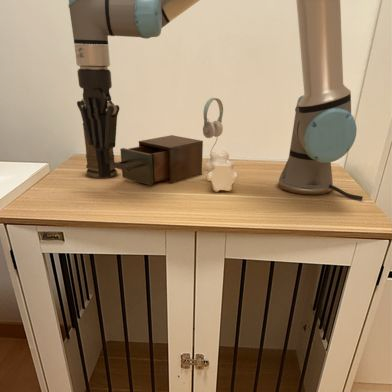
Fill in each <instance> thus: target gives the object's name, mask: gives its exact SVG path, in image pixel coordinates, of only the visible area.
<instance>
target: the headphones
mask: <svg viewBox="0 0 392 392" xmlns="http://www.w3.org/2000/svg"><path fill="white" fill-rule="evenodd" d="M213 101H216V103H217V105H218V109H219V115H218V117H217V119H216V120H214V121H209V119H208V111H209V108H210V106H211V104H212V102H213ZM223 115H224V105H223V102H222V100H220V98H217V97H210V98H209V99H208V100H207V101H206V102H205V104H204V107H203V125H202V134H203V136H204V137H205V138H206V139H211V138H213V137H215V138H218V137H220V136H221V135H222V133H223V129H224V127H223V124H222V122H223ZM217 142H218V139H216V140H215V142H214V143H213V146H212V147H211V150H210V152H213V149H214V147H215V145H216V144H217Z"/></svg>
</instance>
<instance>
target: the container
mask: <svg viewBox="0 0 392 392" xmlns="http://www.w3.org/2000/svg"><path fill="white" fill-rule="evenodd" d="M82 128H83V129H82V130H83V136H84V144H85V145H84V146H85V159H86V166H85V168H86V169H87V170H86V176H87V177H89V178H93V179H110V178H114V177H116V176H117V175H118V169H117V168H113V167H111V166H110V173H111V176H108V177H104V178H102V177H99V170H98V162H97V160H96V152H95V149H94V147H93V146H92V145H89V143H88V139H87V135H86V131H85V127H84V123H83V122H82ZM110 162H115V154H114V148H111V149H110Z"/></svg>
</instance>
